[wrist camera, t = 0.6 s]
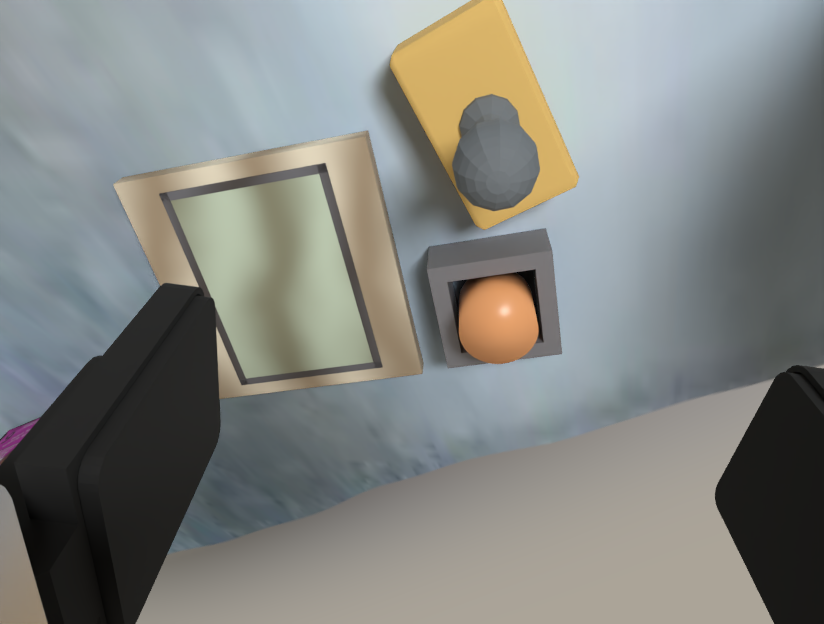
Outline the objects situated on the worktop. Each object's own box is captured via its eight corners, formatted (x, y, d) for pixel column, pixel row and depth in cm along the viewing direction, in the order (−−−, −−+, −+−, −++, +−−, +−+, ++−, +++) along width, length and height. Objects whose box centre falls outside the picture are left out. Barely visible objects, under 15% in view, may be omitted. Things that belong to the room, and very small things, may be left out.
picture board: (367, 130, 34) (364, 136, 33) (423, 363, 42) (422, 374, 41) (122, 177, 36) (112, 185, 35) (219, 389, 44) (213, 400, 43)
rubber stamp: (571, 162, 34) (619, 257, 24) (477, 208, 36) (484, 315, 26) (494, -14, 30) (512, 9, 20) (392, 48, 32) (359, 99, 21)
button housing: (545, 228, 36) (552, 250, 33) (555, 327, 40) (562, 354, 37) (428, 246, 37) (426, 269, 35) (448, 341, 41) (447, 368, 38)
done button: (528, 262, 36) (534, 292, 33) (535, 325, 38) (542, 358, 35) (453, 273, 36) (452, 303, 33) (465, 335, 39) (465, 368, 36)
